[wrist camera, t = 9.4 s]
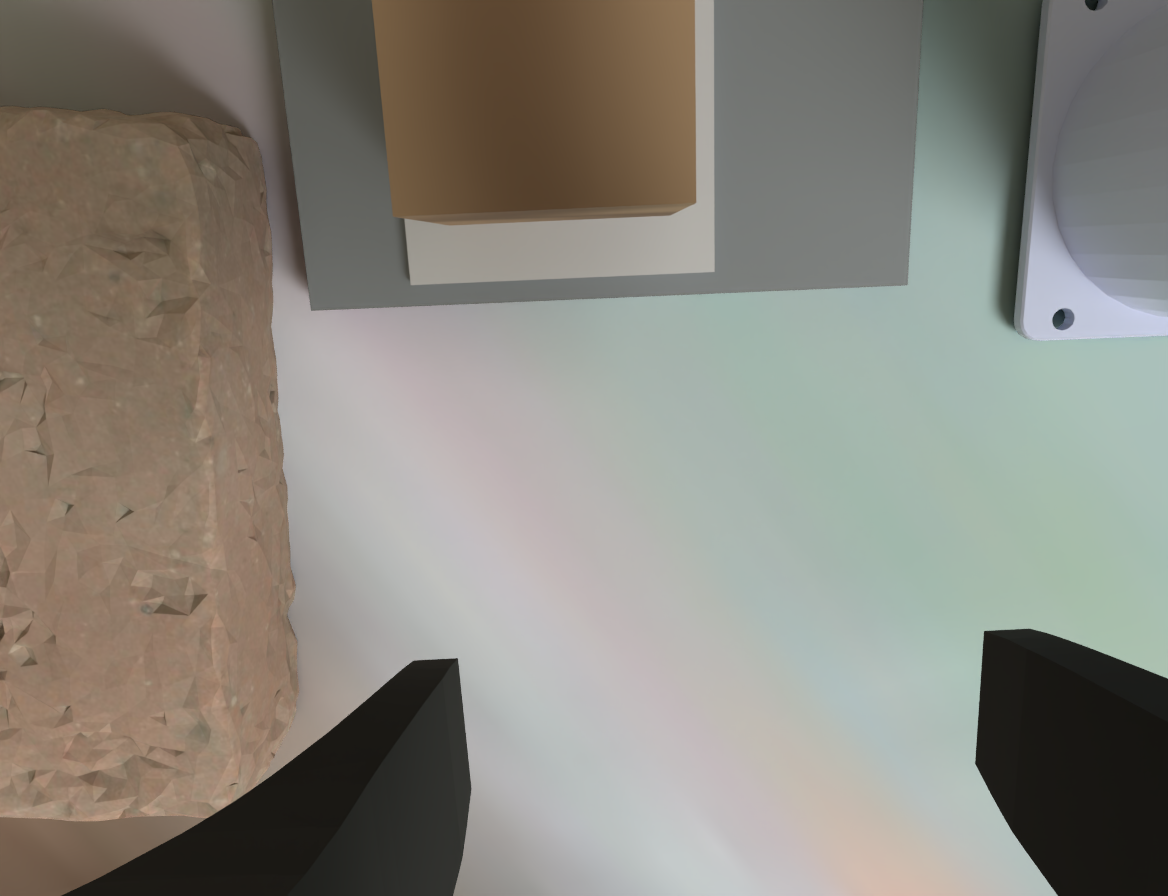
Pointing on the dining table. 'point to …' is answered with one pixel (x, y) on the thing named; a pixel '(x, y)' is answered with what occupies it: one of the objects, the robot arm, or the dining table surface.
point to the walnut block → (537, 108)
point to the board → (741, 156)
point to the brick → (138, 469)
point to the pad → (586, 223)
